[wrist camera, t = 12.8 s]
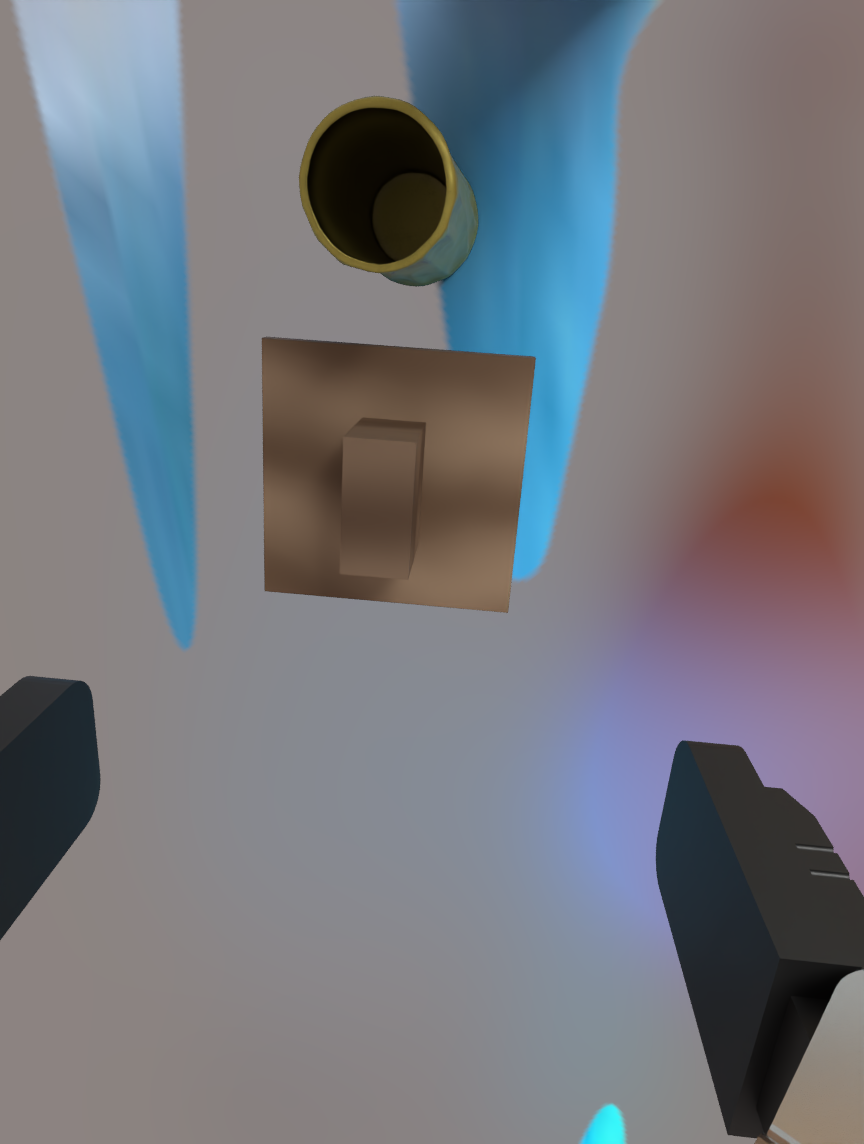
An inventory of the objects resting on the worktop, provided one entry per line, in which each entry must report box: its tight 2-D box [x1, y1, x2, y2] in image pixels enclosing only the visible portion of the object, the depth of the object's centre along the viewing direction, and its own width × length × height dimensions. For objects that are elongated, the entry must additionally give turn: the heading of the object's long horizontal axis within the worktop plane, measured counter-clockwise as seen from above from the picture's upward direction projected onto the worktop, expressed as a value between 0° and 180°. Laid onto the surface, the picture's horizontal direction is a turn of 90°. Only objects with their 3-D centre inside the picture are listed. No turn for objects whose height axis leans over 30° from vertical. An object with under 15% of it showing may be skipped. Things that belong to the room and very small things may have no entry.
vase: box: [299, 96, 478, 286], centre depth 32 cm, size 6×6×14 cm
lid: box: [262, 337, 536, 613], centre depth 35 cm, size 12×12×6 cm
